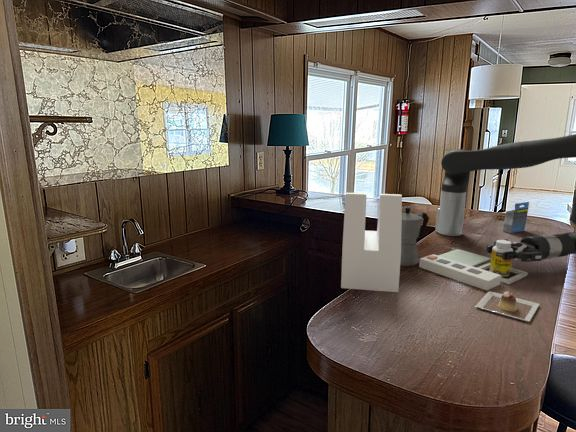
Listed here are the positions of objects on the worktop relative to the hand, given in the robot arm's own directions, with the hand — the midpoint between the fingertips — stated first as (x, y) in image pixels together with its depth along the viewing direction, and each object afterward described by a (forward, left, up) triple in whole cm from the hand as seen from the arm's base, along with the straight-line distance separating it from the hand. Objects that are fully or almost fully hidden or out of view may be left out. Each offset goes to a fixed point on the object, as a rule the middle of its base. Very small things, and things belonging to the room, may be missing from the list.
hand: (495, 252), depth 122 cm
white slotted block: (-21, -31, -7) cm, 38 cm away
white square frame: (+1, +2, -7) cm, 7 cm away
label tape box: (-19, +53, -7) cm, 57 cm away
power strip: (-6, -7, -7) cm, 12 cm away
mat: (-13, +6, -7) cm, 16 cm away
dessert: (+13, -18, -8) cm, 23 cm away
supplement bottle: (+1, +2, -7) cm, 8 cm away
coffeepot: (-23, -11, -7) cm, 26 cm away
